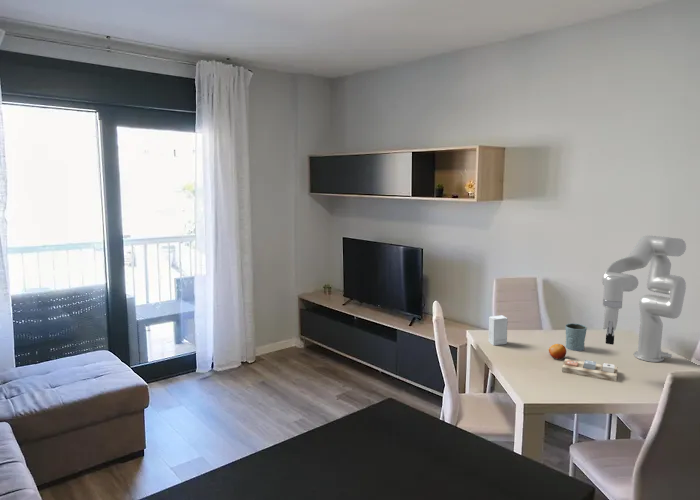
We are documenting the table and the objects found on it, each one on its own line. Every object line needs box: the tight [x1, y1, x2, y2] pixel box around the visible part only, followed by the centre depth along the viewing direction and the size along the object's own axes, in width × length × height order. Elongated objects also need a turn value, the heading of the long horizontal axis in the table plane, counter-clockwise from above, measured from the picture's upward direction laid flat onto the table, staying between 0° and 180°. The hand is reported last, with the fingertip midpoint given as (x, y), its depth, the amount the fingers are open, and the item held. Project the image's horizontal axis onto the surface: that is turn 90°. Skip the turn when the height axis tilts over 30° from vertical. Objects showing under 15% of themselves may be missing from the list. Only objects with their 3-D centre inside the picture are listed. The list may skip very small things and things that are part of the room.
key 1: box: [602, 362, 616, 373], centre depth 219 cm, size 5×5×3 cm
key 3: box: [566, 360, 578, 367], centre depth 227 cm, size 5×5×3 cm
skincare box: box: [488, 314, 509, 346], centre depth 262 cm, size 8×6×15 cm
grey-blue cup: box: [565, 322, 588, 352], centre depth 254 cm, size 10×10×12 cm
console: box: [561, 358, 618, 382], centre depth 223 cm, size 22×12×2 cm, turn 59°
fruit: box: [548, 343, 567, 360], centre depth 241 cm, size 8×8×8 cm
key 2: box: [583, 359, 597, 370], centre depth 223 cm, size 5×5×3 cm
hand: (609, 343), depth 218 cm, fingers closed
